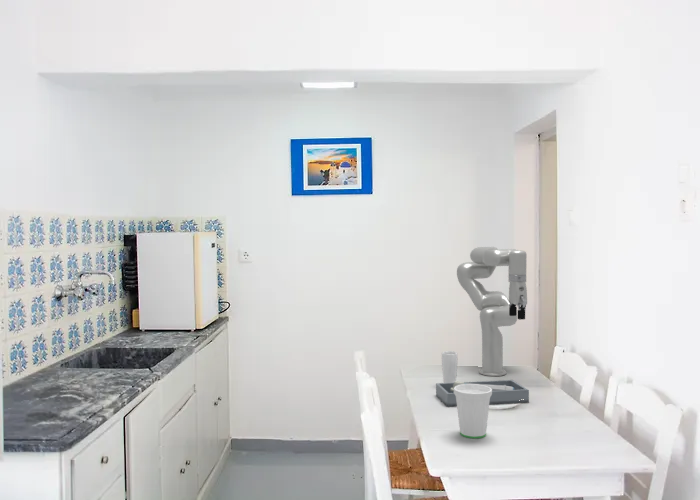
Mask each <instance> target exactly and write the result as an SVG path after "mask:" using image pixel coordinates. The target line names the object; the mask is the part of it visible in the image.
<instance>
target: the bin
mask: <svg viewBox="0 0 700 500" xmlns="http://www.w3.org/2000/svg"><path fill="white" fill-rule="evenodd" d="M463 382H464V383H470V384H486V385H502V386H504V385H506V386H511V387H514V390H502V391H492V395H491V397H490V401H489V406H490V405H491V406H492V405H507V404H511V405H512V404H526V403H527V404H529V402H530V390H529V389H528V388H527V387H525V386H523V385H522V384H520V383H518V382H516V381H515V380H513V379H502V380H483V381H481V380H480V381H479V380H478V381H477V380H476V381H463ZM453 385H454V383H444V382H441V383H439V382H437V383H435V396H436V397H437V398H438V399H439V400H440V401H441V402H442V403H443V404H444V405H445V406H446V407H451V408H452V407H457V402H456V396H455V394H454V393H451V390H450V389H451V388H453ZM521 399H524V400H521ZM519 400H520V401H519Z"/></svg>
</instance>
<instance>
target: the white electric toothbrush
mask: <svg viewBox="0 0 700 500" xmlns="http://www.w3.org/2000/svg"><path fill="white" fill-rule="evenodd" d="M464 382H465V381H460V380H456V381H455V382H454V385H453V388H451V389H450V390H451V393H454V387H455V386H458V385H462V384H470V383H464ZM479 385H484V386H487V387H490V388H491V389H492V391H502V390H514V387H511V386H506V385H504V386H502V385H486V384H479Z"/></svg>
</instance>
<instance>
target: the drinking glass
mask: <svg viewBox="0 0 700 500" xmlns="http://www.w3.org/2000/svg"><path fill="white" fill-rule="evenodd" d="M441 367H442V377H443V378H442V379H443V380H442V381H443V383H454V382H455V381H457V372H458V352H457V351H452V350H446V351H442V352H441Z"/></svg>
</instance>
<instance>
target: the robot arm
mask: <svg viewBox="0 0 700 500" xmlns="http://www.w3.org/2000/svg"><path fill="white" fill-rule="evenodd" d="M469 258H470V260H471V261H468V262H463V263H461V264H459V265H458V266H457V268H456V277H457V281H458V282H459V284H460V286H461V288H462V289H463V290H464V291H465V293H467V294H468V296H469V298H470V300H471V302H472V303H473V305H474V306H475V308H476V309H477V310H478V311H480V312H479V320H480V327H481V355H482V356H481V366H482V367H481V368H480V369H479V370H478V373H479V374H481V375H482V376H488V377H502V376H506V374H507V370H505V369H504V357H503V355H504V352H503V349H504V348H503V346H504V345H503V343H504V342H503V334H502V332H501V331H500V329H499V327H511V326H513V325H515V324H516V323H517V321H519V320H526V311H527V310H526V307H527V305H528V292H527V291H528V290H527V251H525V250H519V249H515V248H507V249H506V248H505V249H503V248H502V249H500V248H499V249H498V248H497V247H495V246H479V247H478V246H477V247H474V248H473V249H472V250H471V251H470V253H469ZM497 267H508V280H507V281H508V283H509V287H508V297H507V295H506V294H505V293H504V292H502V291H499V290H497V291H493V290H492V291H489V290H487V289H486V288H485V287H484V285H483V284H482V283H481V282H479V281H478V280H479V279H488V278H490V277H491V276H492V275H493V274H494V271H495V270H496V268H497ZM477 279H478V280H477Z"/></svg>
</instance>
